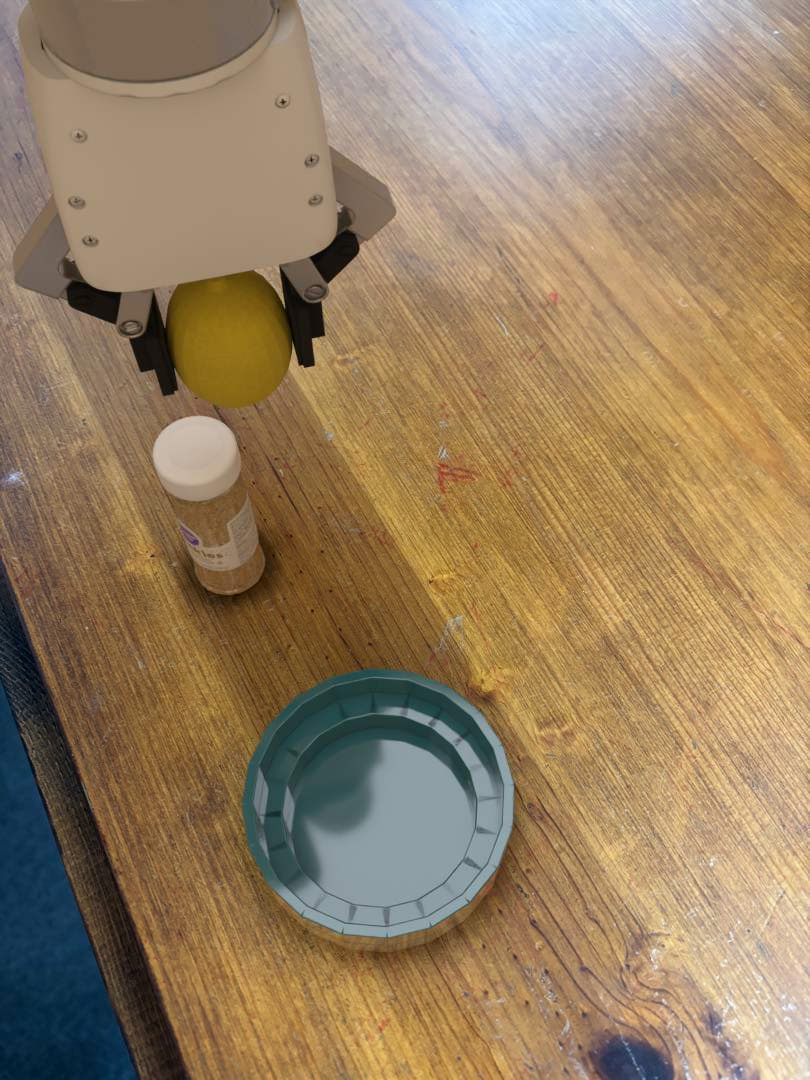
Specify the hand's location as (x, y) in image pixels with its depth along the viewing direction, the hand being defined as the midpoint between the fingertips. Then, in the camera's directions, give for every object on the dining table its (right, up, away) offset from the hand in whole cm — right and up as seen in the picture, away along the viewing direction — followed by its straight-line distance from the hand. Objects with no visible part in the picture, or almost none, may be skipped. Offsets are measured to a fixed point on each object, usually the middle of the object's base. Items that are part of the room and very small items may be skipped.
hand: (233, 354), depth 48 cm
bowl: (+6, -24, +12) cm, 28 cm away
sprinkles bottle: (-3, -10, +20) cm, 23 cm away
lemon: (0, -1, +3) cm, 3 cm away
